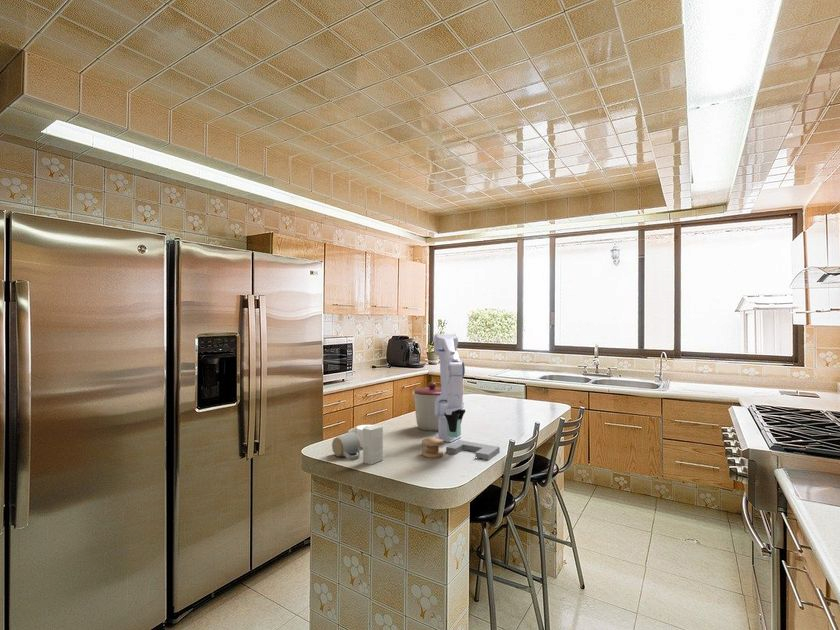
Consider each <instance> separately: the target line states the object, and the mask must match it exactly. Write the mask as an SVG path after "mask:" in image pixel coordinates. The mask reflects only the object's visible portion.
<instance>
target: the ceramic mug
mask: <svg viewBox="0 0 840 630" xmlns="http://www.w3.org/2000/svg"><path fill="white" fill-rule="evenodd" d="M331 448H332V452H333V454H334V455H335V456H337V457H338V458H340V457H341V458H342V457H345V458H346V459H348V460H357V459H358V458H359V457H360V454H361V450H360V449H361V447H360V440H359V437H358V436H357V434H356V433H354V432H350V433H348V432H347V433H345V434H342V435H338V436H336V437H334V438H333V440H332V443H331ZM354 454H357V455H354Z"/></svg>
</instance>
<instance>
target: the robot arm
mask: <svg viewBox="0 0 840 630" xmlns="http://www.w3.org/2000/svg"><path fill="white" fill-rule="evenodd" d="M458 345H459V337H458V334H457V333H435V334H434V335H433V352H434V354H435V355H436V356H438V360H439V370H440V371H439V375H440V388H441V394H440V395H439V396H438V397H437V398H436V399H435V415H436V416H437V417H438V430H437V433H438V434H437V436H436V437H435V438H438V439H442V440H443V441H444V442H448V443H454V441H456V440H459V439H460V438H461V437H462V436H461V435H460V436H459V437H457V438H456V437H448V436H447V422H448V425H449V430H450V432H456V428H457V421H458V419H461V422H462V421H463V417H464V414H466V409H464V406H465V403H464V401H463V400H464V399H463V398H464V395H463V393H464V392H463V391H464V384H463V383H464V377H465V371H466V367H465V363H464V361H462V360H461V358H460V355H459V353H458V351H457V349H458ZM441 401H447V402H441Z"/></svg>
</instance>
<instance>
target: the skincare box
mask: <svg viewBox="0 0 840 630" xmlns="http://www.w3.org/2000/svg"><path fill="white" fill-rule="evenodd" d="M372 425H373V426H369V427H366V428H363V447H362V463H364V462H365V463H364V464H367V463H368V465H370V464H371V465H373V464H376V462H377V463H378V462H382V461H383V460H384V457H383V456H384V455H383V454H384V451H383V450H384V449H383V448H384V447H383V445H384V443H383V442H384V441H383V440H384V439H383V438H384V437H383V435H384V433H383V431H384V429H383V428H384V427H383V426H380V425H376V424H372Z"/></svg>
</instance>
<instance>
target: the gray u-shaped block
mask: <svg viewBox="0 0 840 630" xmlns="http://www.w3.org/2000/svg"><path fill="white" fill-rule="evenodd" d="M463 449H464V450H463ZM500 449H501V448H500V446H498V445H497V446H496V445H489V444H485V443H478V442H471V441H469V440H461V439H457V441H456V440H455V442H454V441H453V442H452V443H451V444H449V445H447V446H446V448H445V453H447V452H448V453H447V454H452V453H453V454H452V455H456V454H458V453H460V452H462V451H468V450H470V451H469V452H474V451H476V452H475V458H476V457H477V458H476V459H479V458H482V459H481V460H484V459H486V460H485V461H490V460H491V459H492V458H494V457H495V456H497V455H498V454H499V453H500ZM461 450H462V451H461ZM489 459H490V460H489Z"/></svg>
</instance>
